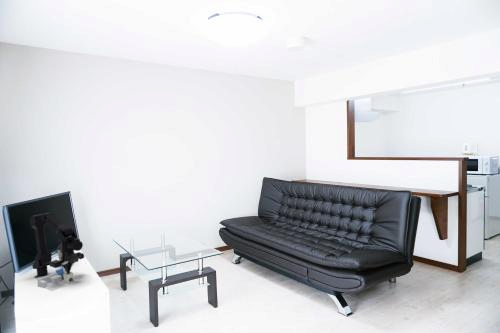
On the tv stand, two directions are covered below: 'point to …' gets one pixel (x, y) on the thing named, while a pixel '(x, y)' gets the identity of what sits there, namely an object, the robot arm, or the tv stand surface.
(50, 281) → the grey backboard with ledge
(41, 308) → the tv stand surface
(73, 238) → the robot arm
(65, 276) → the cream cube with dome
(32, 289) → the tv stand surface
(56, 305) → the tv stand surface
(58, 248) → the coffee cup
